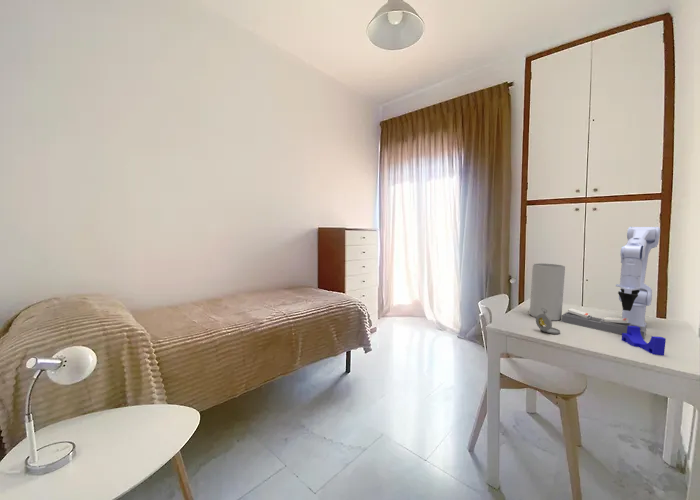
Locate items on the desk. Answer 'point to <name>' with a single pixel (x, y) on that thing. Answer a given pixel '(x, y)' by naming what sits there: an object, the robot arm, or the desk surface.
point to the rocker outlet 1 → (578, 313)
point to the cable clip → (636, 340)
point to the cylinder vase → (547, 290)
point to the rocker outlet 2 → (616, 320)
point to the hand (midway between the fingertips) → (627, 308)
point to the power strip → (599, 324)
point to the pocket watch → (546, 323)
